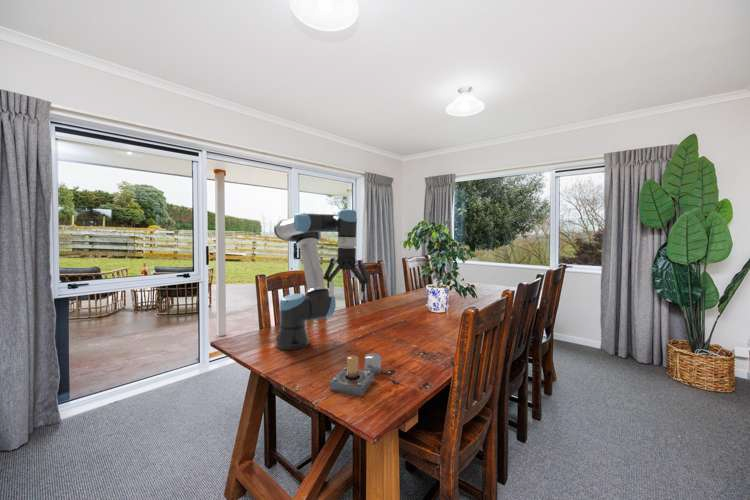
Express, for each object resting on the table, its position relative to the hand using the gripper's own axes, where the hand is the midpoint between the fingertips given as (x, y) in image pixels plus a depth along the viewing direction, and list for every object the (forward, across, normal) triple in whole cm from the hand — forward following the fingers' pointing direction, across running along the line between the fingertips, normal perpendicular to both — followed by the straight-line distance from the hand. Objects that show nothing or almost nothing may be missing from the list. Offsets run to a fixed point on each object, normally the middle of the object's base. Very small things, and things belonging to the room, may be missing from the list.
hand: (345, 298), depth 134 cm
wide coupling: (+26, +15, -6) cm, 31 cm away
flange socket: (+26, +12, -20) cm, 35 cm away
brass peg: (+26, +12, -20) cm, 35 cm away
